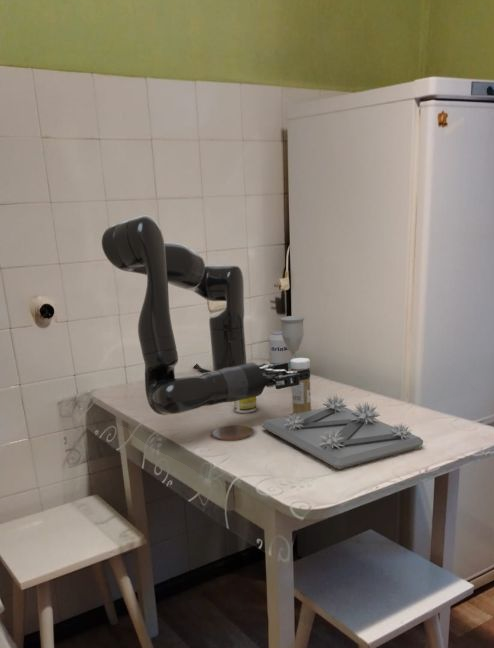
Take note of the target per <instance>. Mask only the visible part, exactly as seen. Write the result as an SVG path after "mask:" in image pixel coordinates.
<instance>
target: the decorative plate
mask: <svg viewBox="0 0 494 648" xmlns="http://www.w3.org/2000/svg"><path fill="white" fill-rule="evenodd" d="M326 399H327V400H326V401H322V402H323V403H322V406H325V407H321V408H316V409H311V411H307V412H302V413H298V414H296V413H295V414H293V413H292V414H290V413H289V414H288V415H284V416H279V417H275V418H270V419H266V420H265V421H264V422H263V423H262V425H261V428H263V429H264V430H265V431H267V432H269V433H272V434H273V435H275V436H276V437H279V438H280V439H282V440H284V441H285V442H287V443H289V444H291V445H293V446H294V447H296V448H299V449H300V450H302V451H303V452H306V453H308V454H310V455H311V456H313V457H315V458H317V459H319V460H320V461H322V462H323V463H326V464H328V465H329V466H331V467H333V468H335V469H337V470H342V469H345V468H348V467H352V466H356V465H361V464H363V463H367V462H372V461H374V460H378V459H379V460H380V459H382V458H386V457H389V456H394V455H397V454H401V453H404V452H408V451H412V450H416V449H419V448H420V447H422V446H423V444H424V440H423V439H422V438H421V437H420V436H418V435H415V434H412V430H411V429H410V430H409V428H410V426H407V424H404V425H403V424H402V423H399V424H398V425H395V424H394V425H393V424H392V425H390V424H388V423H385V422H383V421H380V419H378V417H380V416H382V415H380V413H381V411H376V409H377V407H378V406H377V405H376V406H374V403H372V404H370V405H369V404H368V402H362V405H361V404H360V403H358V404H357V405H356V404H354V405H355V408H356V409H355V408H354V409H350V408H349V407H347V404H348V402H343V401H344V400H345V398H344V397H342V396H340V397H338V395H337V393H336V394H334V395H332V397H331V396H329V397H326Z"/></svg>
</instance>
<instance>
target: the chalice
mask: <svg viewBox="0 0 494 648" xmlns="http://www.w3.org/2000/svg"><path fill="white" fill-rule="evenodd" d="M305 318H306V317H305V316H301V315H288V316H287V315H286V316H282V317H280V318H279V320H280V322H281V331H282V337H283V339H284V342H285V344H286V346H287V348H288V350H289V351H291V352H292V358H291V360H292V359H295V358H297V357H296V352H297V351H299V349H300V348H301V347H300V346H301V344H302V341H303V339H304V320H305ZM291 380H292V378H291Z"/></svg>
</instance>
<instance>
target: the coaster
mask: <svg viewBox="0 0 494 648" xmlns="http://www.w3.org/2000/svg"><path fill="white" fill-rule="evenodd" d="M253 434H254V429H253V428H252V427H250V426H247V425H243V424H242V425H241V424H234V425H233V424H232V425H231V424H230V425H224V426H221V427H218V428H215V429H214V430H213V431H212V437H213V438H214V439H216V440H220V441H227V442H229V441H231V442H232V441H241V440H245V439H247V438H249V437H251V436H253Z"/></svg>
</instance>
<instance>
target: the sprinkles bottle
mask: <svg viewBox="0 0 494 648" xmlns="http://www.w3.org/2000/svg"><path fill="white" fill-rule="evenodd" d="M290 367H291V371H298V370H303V369H309V370H310V367H311V360H310V358H307V357H296V358H295V359H292V360H291V361H290ZM299 382H300V385H296V386H291V402H292V415H293V414H295V413H296V414H298V413H302V412H307V411H312V406H311V405H312V404H311V403H312V402H311V401H312V397H311V377H310V378H309V379H305V380H301V381H299Z"/></svg>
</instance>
